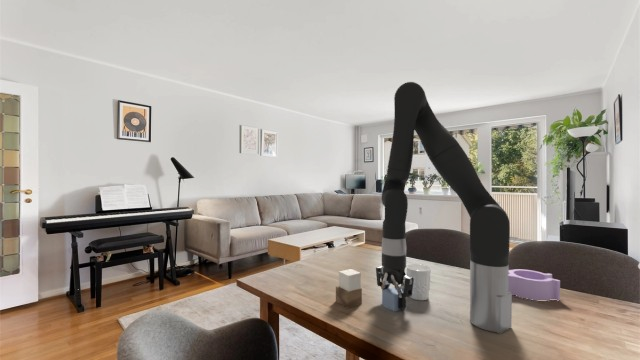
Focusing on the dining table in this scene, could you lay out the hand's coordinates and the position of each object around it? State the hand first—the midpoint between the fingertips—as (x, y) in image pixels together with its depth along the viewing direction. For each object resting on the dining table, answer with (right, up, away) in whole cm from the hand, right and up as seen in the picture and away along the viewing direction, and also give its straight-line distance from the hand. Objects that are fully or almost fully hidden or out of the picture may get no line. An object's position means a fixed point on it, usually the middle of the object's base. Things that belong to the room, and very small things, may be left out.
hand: (393, 304), depth 93 cm
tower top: (-13, +4, +3) cm, 15 cm away
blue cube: (0, -1, 0) cm, 1 cm away
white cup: (+10, -1, +8) cm, 13 cm away
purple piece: (+48, -1, +11) cm, 49 cm away
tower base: (-14, -1, +3) cm, 14 cm away
